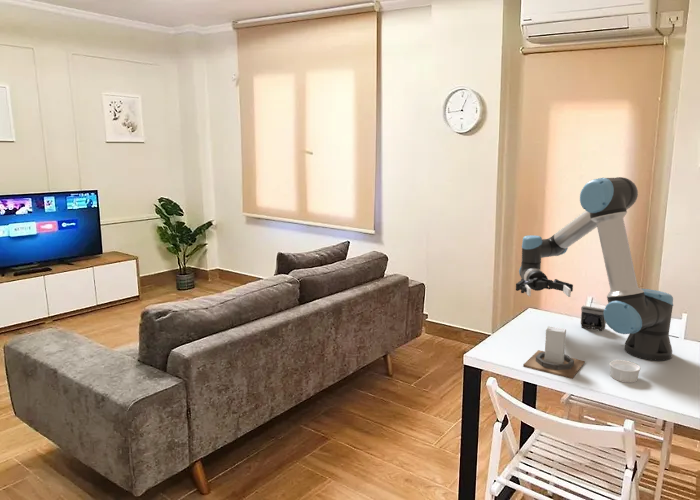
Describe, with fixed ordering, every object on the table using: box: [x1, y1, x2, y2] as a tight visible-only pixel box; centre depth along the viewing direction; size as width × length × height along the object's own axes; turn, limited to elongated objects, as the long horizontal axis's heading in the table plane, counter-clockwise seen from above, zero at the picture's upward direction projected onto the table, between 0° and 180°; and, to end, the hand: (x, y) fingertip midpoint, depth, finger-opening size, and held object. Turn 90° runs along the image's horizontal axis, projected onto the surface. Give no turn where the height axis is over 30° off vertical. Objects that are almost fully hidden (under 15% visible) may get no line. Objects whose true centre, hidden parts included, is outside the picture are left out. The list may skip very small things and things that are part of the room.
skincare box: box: [544, 325, 567, 365], centre depth 183 cm, size 6×4×12 cm
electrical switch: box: [580, 305, 607, 332], centre depth 218 cm, size 9×5×9 cm, turn 57°
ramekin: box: [609, 359, 641, 384], centre depth 174 cm, size 9×9×4 cm
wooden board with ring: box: [523, 349, 586, 379], centre depth 184 cm, size 16×16×2 cm
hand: (549, 292), depth 190 cm, fingers open, 13 cm apart
